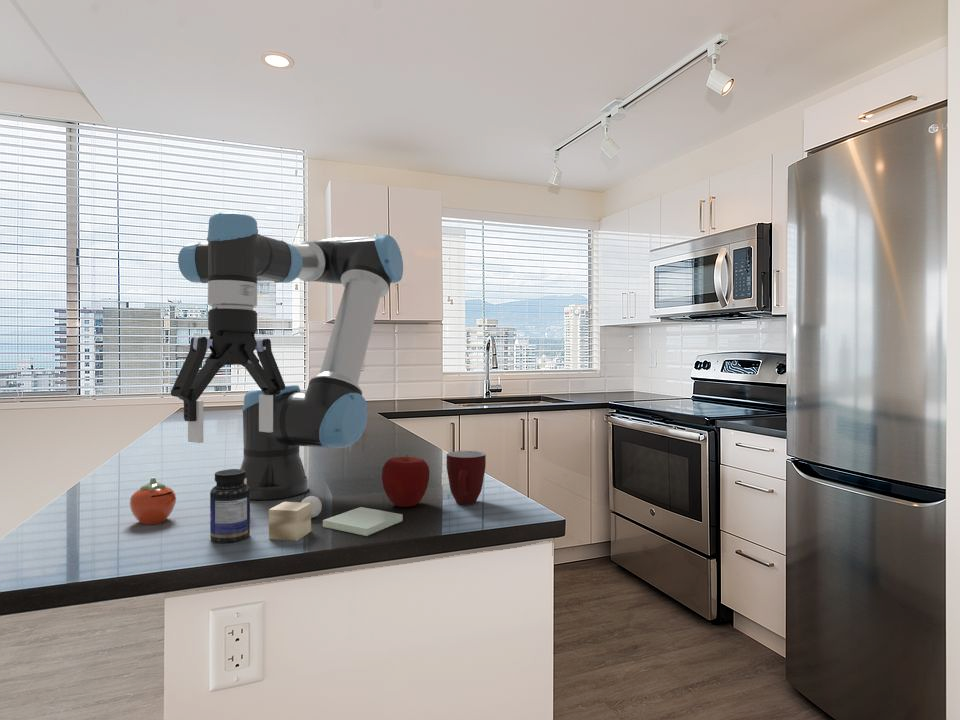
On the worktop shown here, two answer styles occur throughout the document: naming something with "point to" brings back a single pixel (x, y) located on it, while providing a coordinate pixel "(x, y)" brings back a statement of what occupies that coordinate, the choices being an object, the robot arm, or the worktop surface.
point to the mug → (466, 475)
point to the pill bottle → (229, 507)
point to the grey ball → (313, 505)
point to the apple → (405, 480)
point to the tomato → (152, 503)
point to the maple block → (289, 521)
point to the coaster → (362, 521)
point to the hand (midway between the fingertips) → (233, 436)
